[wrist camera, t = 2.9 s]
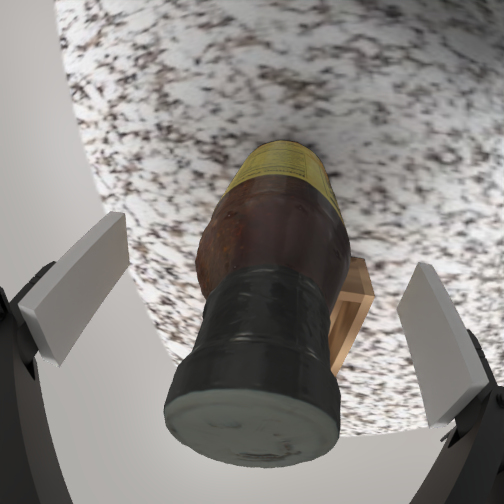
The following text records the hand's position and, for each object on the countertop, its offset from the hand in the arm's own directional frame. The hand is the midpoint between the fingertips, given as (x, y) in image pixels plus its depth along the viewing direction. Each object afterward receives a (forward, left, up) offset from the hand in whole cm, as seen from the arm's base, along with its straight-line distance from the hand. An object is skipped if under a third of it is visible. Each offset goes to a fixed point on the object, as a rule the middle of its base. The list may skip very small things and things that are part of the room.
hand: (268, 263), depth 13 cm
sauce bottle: (0, 0, -12) cm, 12 cm away
